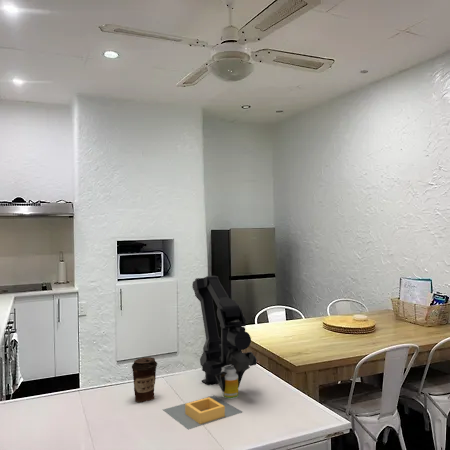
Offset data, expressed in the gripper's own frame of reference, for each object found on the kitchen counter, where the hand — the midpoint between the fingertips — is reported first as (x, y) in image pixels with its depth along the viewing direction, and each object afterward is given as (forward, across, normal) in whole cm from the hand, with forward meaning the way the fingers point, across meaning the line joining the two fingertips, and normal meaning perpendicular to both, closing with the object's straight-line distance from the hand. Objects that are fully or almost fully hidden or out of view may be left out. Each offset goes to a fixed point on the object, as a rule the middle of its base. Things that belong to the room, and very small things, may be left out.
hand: (230, 389), depth 138 cm
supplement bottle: (+3, 0, 0) cm, 3 cm away
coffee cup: (+3, -24, +15) cm, 28 cm away
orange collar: (+2, -15, -8) cm, 17 cm away
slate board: (+2, -14, -5) cm, 15 cm away
